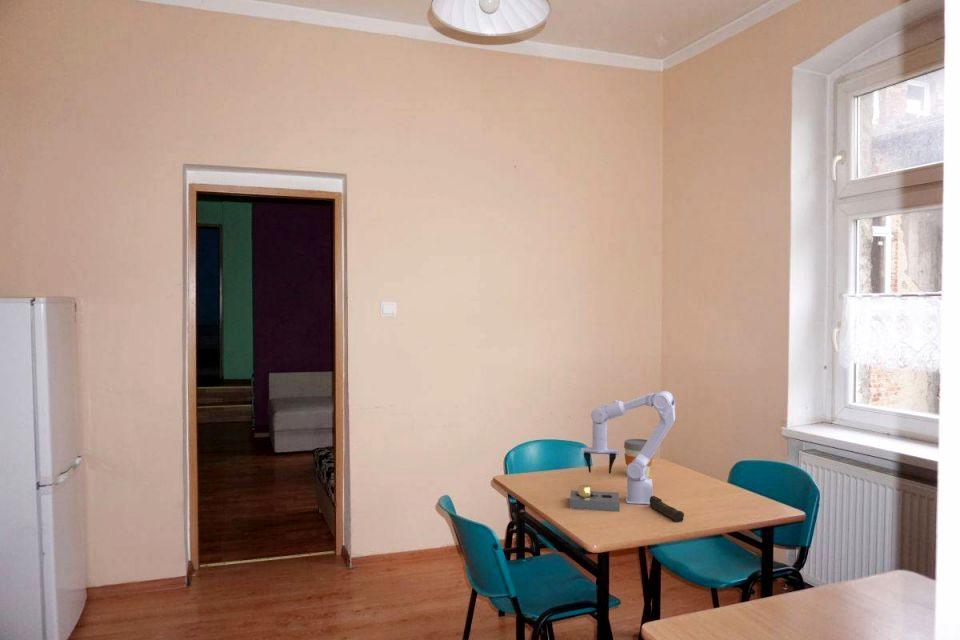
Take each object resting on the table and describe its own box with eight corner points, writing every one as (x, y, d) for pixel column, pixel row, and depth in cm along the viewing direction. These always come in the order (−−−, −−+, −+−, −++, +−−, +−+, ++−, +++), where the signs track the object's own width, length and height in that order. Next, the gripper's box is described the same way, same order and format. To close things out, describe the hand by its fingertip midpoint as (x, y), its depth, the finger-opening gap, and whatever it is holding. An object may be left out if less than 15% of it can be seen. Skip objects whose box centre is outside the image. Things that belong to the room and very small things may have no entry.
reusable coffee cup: (647, 471, 290) (647, 438, 290) (657, 479, 278) (657, 444, 277) (620, 472, 289) (620, 438, 289) (628, 479, 277) (628, 444, 276)
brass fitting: (590, 503, 243) (590, 484, 243) (591, 506, 239) (591, 488, 238) (578, 502, 244) (578, 484, 243) (579, 506, 239) (579, 487, 239)
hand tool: (684, 522, 222) (684, 509, 222) (674, 523, 221) (674, 509, 221) (656, 506, 240) (657, 494, 240) (647, 507, 239) (647, 494, 239)
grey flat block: (618, 501, 245) (618, 492, 245) (619, 511, 233) (619, 501, 233) (570, 499, 248) (570, 490, 248) (569, 508, 236) (569, 499, 236)
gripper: (580, 439, 249) (580, 474, 249) (619, 440, 246) (618, 475, 247) (581, 435, 256) (581, 469, 256) (618, 437, 253) (618, 471, 254)
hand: (599, 472), depth 252 cm, fingers open, 7 cm apart
